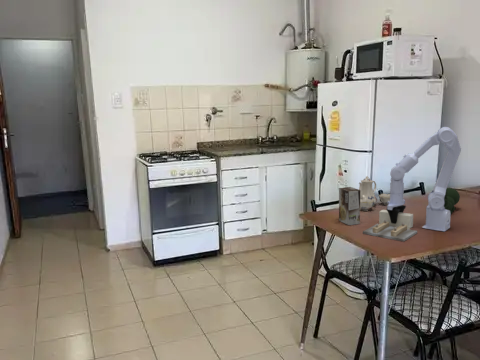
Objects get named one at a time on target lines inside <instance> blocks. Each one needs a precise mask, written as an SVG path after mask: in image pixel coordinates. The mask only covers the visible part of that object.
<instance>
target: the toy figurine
mask: <svg viewBox="0 0 480 360" xmlns="http://www.w3.org/2000/svg"><path fill="white" fill-rule="evenodd" d="M460 199H461V195H460V192H458V190H456V189H455V188H453V187H447V189H446V193H445V197H444V207H445V209H446V210H450V213H451V215H452V214H453V213H454V211H455V210H456V207H455V206H456V205H457V204H458V203H459V202H460Z"/></svg>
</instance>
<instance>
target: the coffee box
mask: <svg viewBox="0 0 480 360" xmlns="http://www.w3.org/2000/svg"><path fill="white" fill-rule="evenodd" d="M360 191H361V190H359V188H355V187H351V186H345V187H339V188H338V221H340V223H343V224H345V225H347V226H353V225H360V224H361V223H360V222H361V210H360Z"/></svg>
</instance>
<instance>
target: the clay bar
mask: <svg viewBox="0 0 480 360" xmlns="http://www.w3.org/2000/svg"><path fill="white" fill-rule="evenodd" d="M378 213H379V215H378V216H379V217H378V220H379V221H378V224H381V223H383V222H384V219H386V222H389V226H393V227H399V226H401V225H402V222H404V225H407V229H410V230H411V229H412V228H413V227H414V213H409V212H408V213H407V212H403V213H402V212H399V213H398V217H397V222H396V224H394V223H391V220H390V216H389V213H388V211H387V209H381V210H379V212H378Z"/></svg>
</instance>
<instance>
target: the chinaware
mask: <svg viewBox="0 0 480 360" xmlns="http://www.w3.org/2000/svg"><path fill="white" fill-rule="evenodd" d="M358 184H359V187H358V190H361V191H360V211H364V212H368V211H369V210H370V209H371V208H373V207H375V206H376V205H375V204H376V203H377V201H378V199H377V196H376V194H375V191H376V189H377V183H376V181H374V180H373V179H372V180H371V178H370V177H369V176H368V175H366V176H365V178H363V179H361V180H360V182H359V183H358ZM373 184H374V187H373ZM378 197H379V198H380V201H381V202H382V203H383V206H387V205H389V203H387V202H388V201H390V193H387V194H386V193H380V194H378Z"/></svg>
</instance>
